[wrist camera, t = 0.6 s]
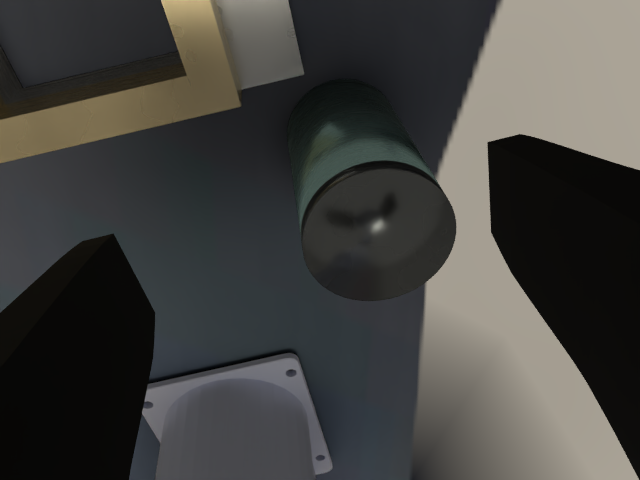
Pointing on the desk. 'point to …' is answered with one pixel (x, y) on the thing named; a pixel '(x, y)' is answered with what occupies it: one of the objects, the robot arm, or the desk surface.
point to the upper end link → (132, 92)
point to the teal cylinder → (364, 195)
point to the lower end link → (243, 38)
